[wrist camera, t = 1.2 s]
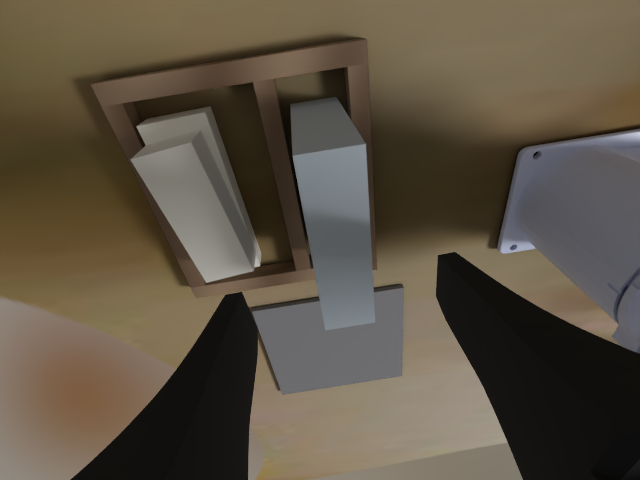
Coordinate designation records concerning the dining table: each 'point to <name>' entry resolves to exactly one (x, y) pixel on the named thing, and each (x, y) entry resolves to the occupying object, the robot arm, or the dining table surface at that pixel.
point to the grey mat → (332, 343)
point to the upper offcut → (197, 204)
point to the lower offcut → (205, 121)
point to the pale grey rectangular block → (335, 209)
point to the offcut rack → (262, 73)
